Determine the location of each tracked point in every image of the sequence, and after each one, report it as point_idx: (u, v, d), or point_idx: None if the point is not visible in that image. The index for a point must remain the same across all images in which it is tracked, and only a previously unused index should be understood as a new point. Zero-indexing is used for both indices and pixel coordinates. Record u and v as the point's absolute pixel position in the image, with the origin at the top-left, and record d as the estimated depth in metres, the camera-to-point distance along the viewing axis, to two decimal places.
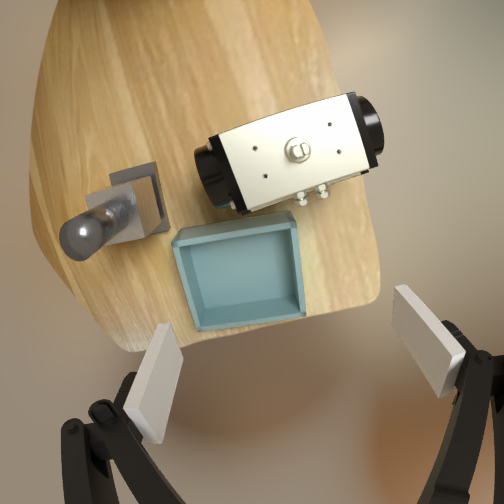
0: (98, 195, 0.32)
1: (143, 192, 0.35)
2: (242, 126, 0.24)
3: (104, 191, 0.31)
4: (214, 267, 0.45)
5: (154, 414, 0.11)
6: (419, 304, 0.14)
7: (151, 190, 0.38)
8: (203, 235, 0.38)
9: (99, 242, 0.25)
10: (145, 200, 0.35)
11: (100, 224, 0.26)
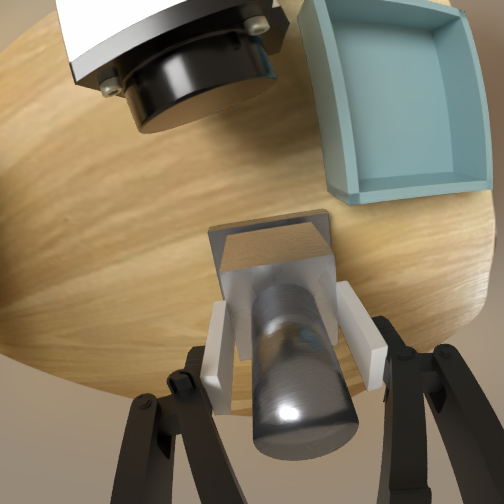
0: (241, 337, 0.19)
1: (248, 249, 0.20)
2: (60, 21, 0.07)
3: (234, 325, 0.18)
4: (394, 142, 0.23)
5: (225, 383, 0.13)
6: (354, 299, 0.15)
7: (252, 233, 0.23)
8: (339, 141, 0.18)
9: (325, 379, 0.10)
10: (263, 246, 0.20)
11: (282, 367, 0.11)
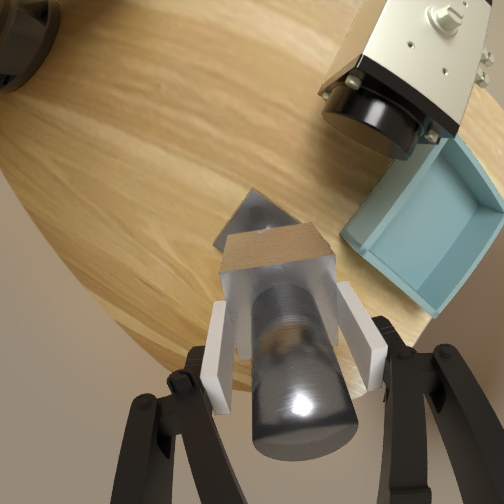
0: (241, 337, 0.18)
1: (248, 249, 0.20)
2: (376, 27, 0.11)
3: (234, 325, 0.18)
4: (400, 242, 0.31)
5: (225, 383, 0.13)
6: (354, 299, 0.15)
7: (252, 233, 0.23)
8: (382, 214, 0.26)
9: (325, 379, 0.10)
10: (264, 246, 0.20)
11: (282, 367, 0.11)
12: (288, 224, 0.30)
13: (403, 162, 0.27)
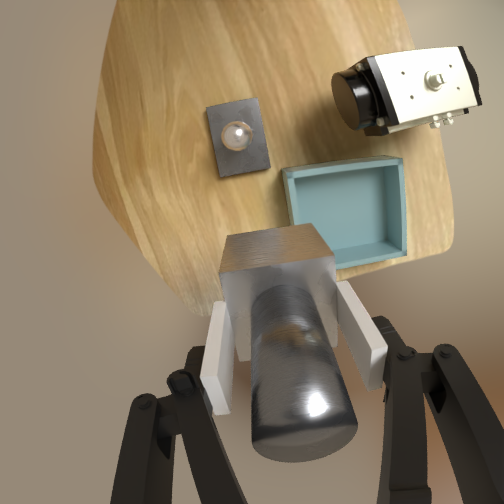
0: (240, 338, 0.18)
1: (248, 249, 0.20)
2: (392, 53, 0.22)
3: (233, 326, 0.18)
4: (314, 209, 0.43)
5: (225, 383, 0.13)
6: (354, 299, 0.15)
7: (252, 234, 0.23)
8: (319, 167, 0.36)
9: (324, 381, 0.10)
10: (263, 247, 0.20)
11: (281, 369, 0.11)
12: (258, 133, 0.38)
13: (355, 159, 0.39)
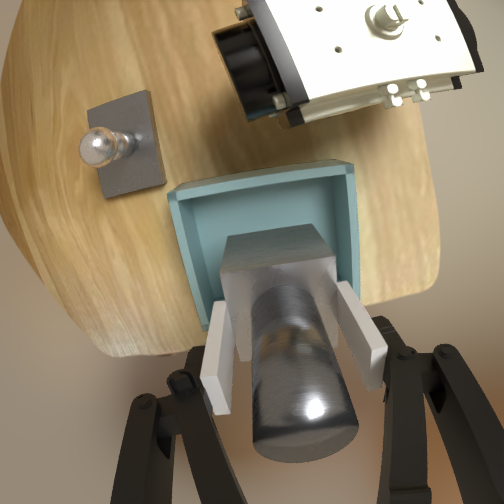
0: (241, 338, 0.18)
1: (248, 250, 0.20)
2: None
3: (234, 327, 0.18)
4: None
5: (225, 383, 0.13)
6: (354, 299, 0.15)
7: (252, 234, 0.23)
8: (216, 182, 0.25)
9: (325, 382, 0.10)
10: (264, 247, 0.20)
11: (282, 370, 0.11)
12: (146, 137, 0.27)
13: (283, 167, 0.27)
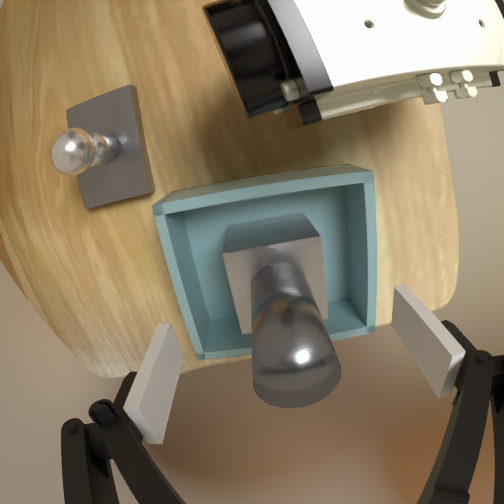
0: (242, 312, 0.22)
1: (247, 235, 0.23)
2: None
3: (236, 301, 0.21)
4: None
5: (154, 414, 0.11)
6: (419, 304, 0.14)
7: (250, 223, 0.26)
8: (210, 192, 0.21)
9: (310, 330, 0.13)
10: (260, 233, 0.23)
11: (275, 322, 0.14)
12: (130, 139, 0.23)
13: (289, 174, 0.24)
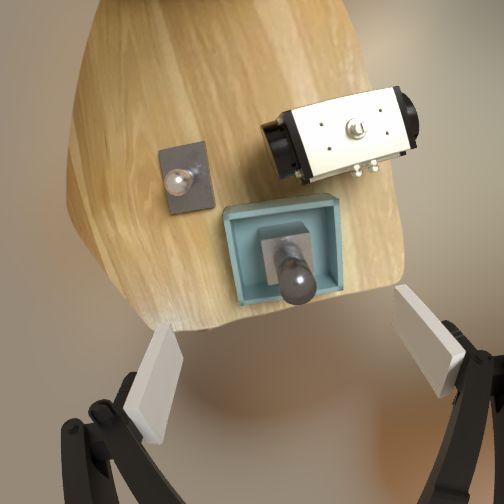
0: (269, 272, 0.41)
1: (271, 232, 0.43)
2: (311, 105, 0.27)
3: (266, 266, 0.41)
4: (256, 244, 0.47)
5: (154, 414, 0.11)
6: (419, 304, 0.14)
7: (271, 226, 0.46)
8: (254, 209, 0.41)
9: (303, 268, 0.33)
10: (278, 231, 0.43)
11: (289, 266, 0.34)
12: (203, 174, 0.43)
13: (294, 199, 0.44)
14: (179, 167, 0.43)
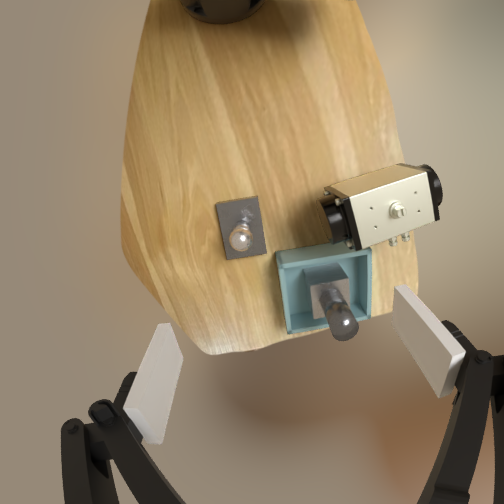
0: (315, 309, 0.50)
1: (316, 275, 0.51)
2: (364, 192, 0.34)
3: (313, 305, 0.49)
4: (300, 282, 0.55)
5: (154, 414, 0.11)
6: (419, 304, 0.14)
7: (314, 268, 0.54)
8: (303, 259, 0.49)
9: (349, 313, 0.41)
10: (322, 274, 0.51)
11: (337, 311, 0.42)
12: (257, 226, 0.51)
13: (334, 246, 0.52)
14: (235, 219, 0.50)
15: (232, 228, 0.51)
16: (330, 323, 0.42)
